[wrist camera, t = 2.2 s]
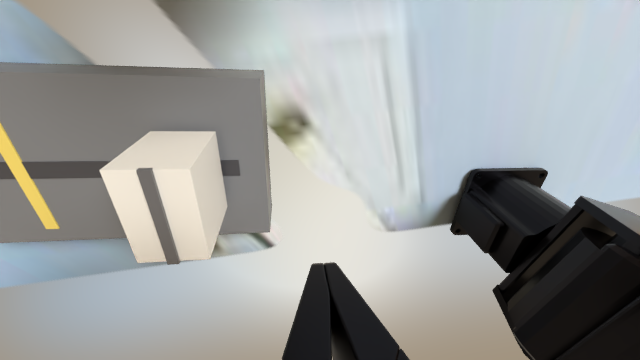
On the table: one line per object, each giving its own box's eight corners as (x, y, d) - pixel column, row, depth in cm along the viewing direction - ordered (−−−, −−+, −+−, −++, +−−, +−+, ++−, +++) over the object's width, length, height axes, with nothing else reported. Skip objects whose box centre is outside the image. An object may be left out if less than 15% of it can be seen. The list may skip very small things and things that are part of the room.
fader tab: (215, 130, 14) (188, 169, 10) (227, 207, 16) (209, 262, 12) (150, 130, 14) (96, 170, 10) (172, 208, 16) (136, 265, 12)
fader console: (264, 70, 16) (259, 79, 13) (271, 206, 21) (269, 233, 18) (-88, 59, 14) (-177, 67, 11) (13, 214, 19) (-32, 244, 16)
